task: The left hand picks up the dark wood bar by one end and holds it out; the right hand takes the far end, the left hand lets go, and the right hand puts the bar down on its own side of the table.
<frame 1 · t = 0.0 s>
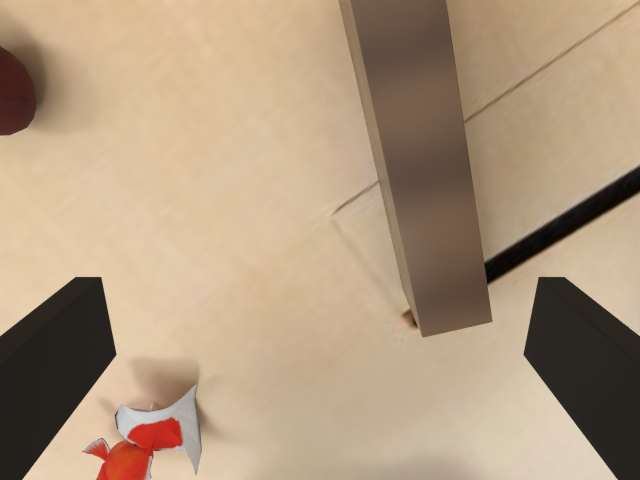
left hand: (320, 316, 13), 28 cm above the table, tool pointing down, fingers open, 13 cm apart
bar: (405, 152, 39), on the table
potato: (13, 88, 37), on the table
fish: (160, 411, 49), on the table
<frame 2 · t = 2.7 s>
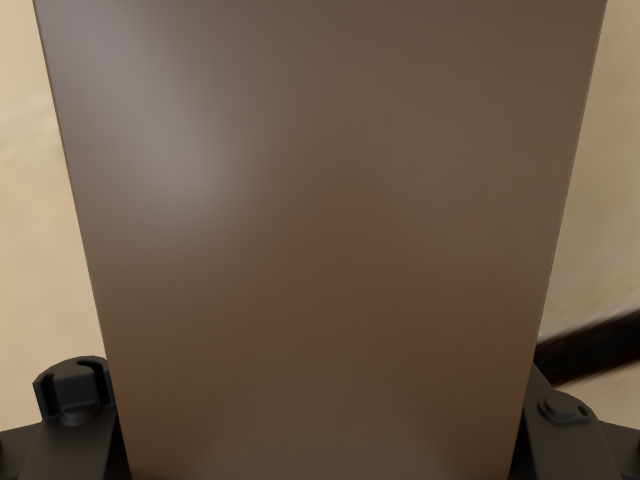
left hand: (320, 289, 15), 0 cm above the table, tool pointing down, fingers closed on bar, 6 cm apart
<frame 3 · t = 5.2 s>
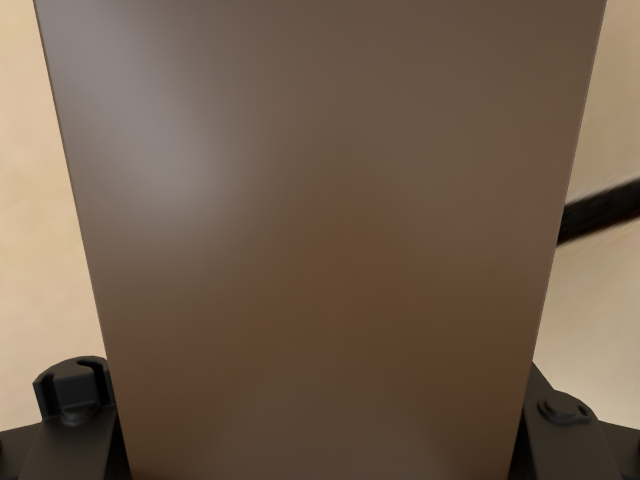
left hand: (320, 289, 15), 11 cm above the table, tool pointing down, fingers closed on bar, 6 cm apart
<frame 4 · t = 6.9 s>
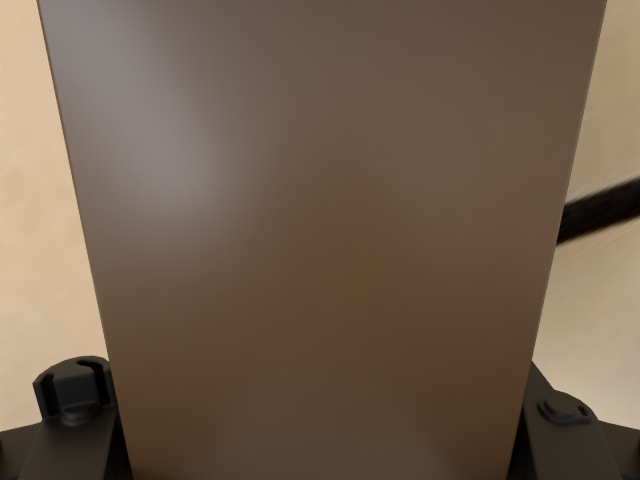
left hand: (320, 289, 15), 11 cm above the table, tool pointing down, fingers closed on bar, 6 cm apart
when the left hand's fingers open (11 cm above the table, at t = 7.9 s): bar stays where it is, held by the right hand.
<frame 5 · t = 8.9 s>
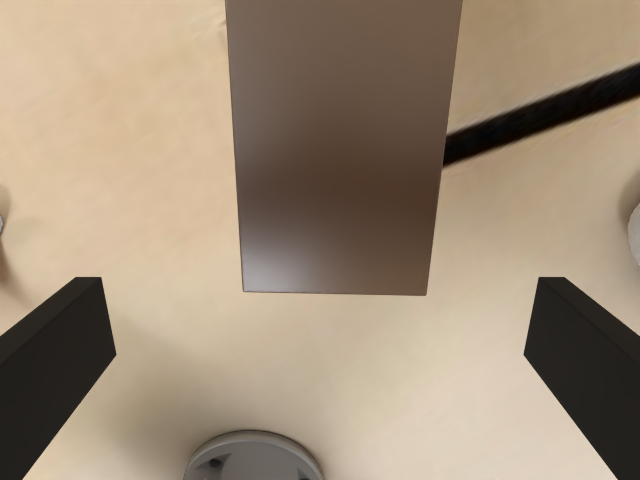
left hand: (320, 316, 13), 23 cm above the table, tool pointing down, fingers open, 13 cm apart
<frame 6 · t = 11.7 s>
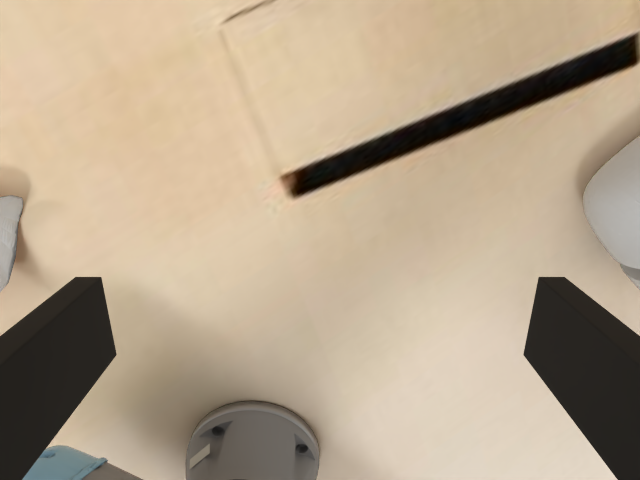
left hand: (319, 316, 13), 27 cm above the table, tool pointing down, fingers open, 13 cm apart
when the right hand's fingers open (5 cm above the table, at t = 16.7 s): bar drops 1 cm, on the table.
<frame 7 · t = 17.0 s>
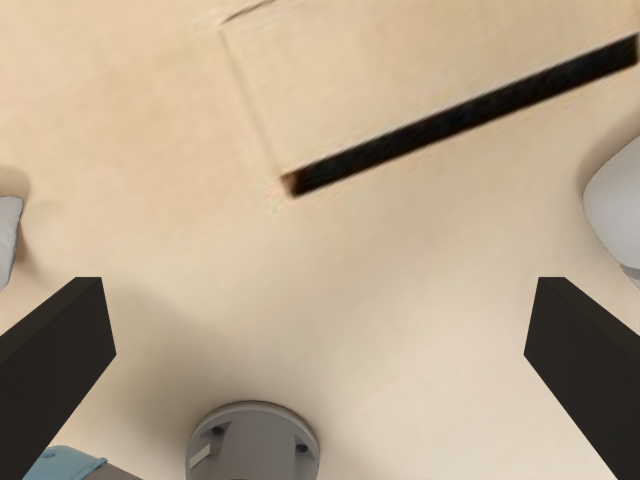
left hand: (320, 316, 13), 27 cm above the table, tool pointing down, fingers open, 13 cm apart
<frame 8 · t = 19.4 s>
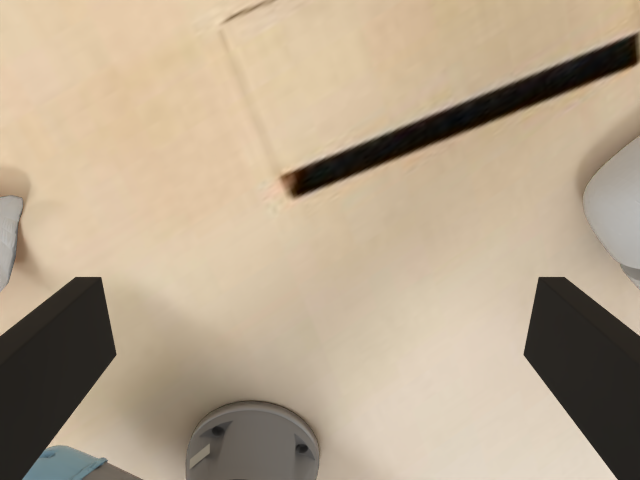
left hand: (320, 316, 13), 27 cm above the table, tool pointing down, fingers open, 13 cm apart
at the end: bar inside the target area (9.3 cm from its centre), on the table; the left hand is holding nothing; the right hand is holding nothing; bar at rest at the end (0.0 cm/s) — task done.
